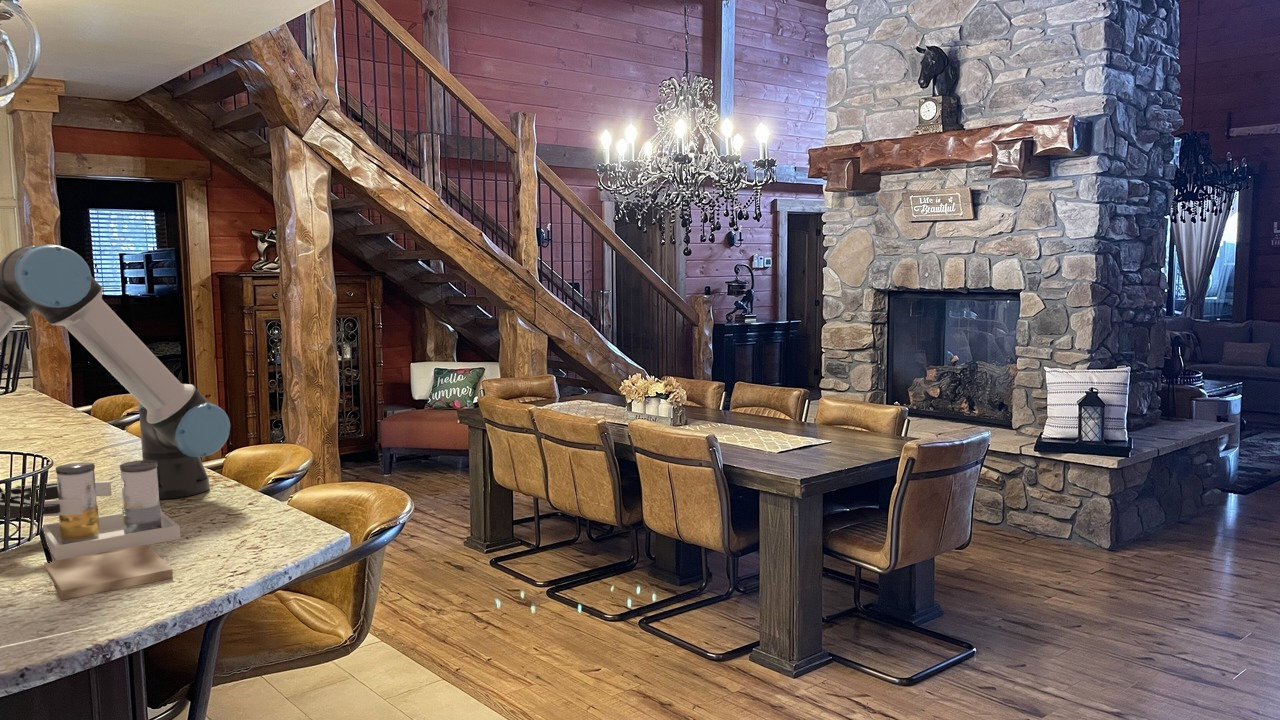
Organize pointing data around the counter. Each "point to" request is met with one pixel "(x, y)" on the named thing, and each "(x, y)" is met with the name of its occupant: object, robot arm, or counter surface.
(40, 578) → the counter surface
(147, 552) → the board
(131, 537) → the white shaker tray
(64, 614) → the counter surface
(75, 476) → the lidded honey jar
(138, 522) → the clear grey lidded jar
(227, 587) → the counter surface
